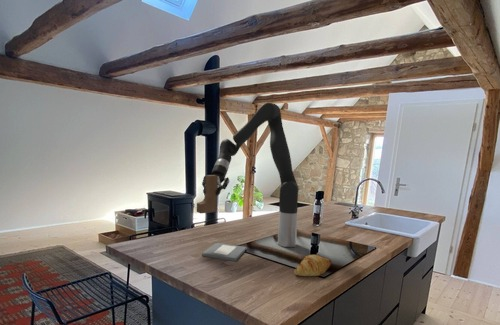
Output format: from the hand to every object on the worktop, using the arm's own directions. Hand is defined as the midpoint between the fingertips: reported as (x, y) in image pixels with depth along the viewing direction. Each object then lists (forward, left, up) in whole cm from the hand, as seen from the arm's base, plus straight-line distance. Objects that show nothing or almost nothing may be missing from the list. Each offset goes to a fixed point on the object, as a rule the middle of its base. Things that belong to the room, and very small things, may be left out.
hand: (210, 193), depth 141 cm
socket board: (-11, +6, -26) cm, 29 cm away
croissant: (-52, +11, -26) cm, 59 cm away
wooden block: (+1, +1, -9) cm, 9 cm away
